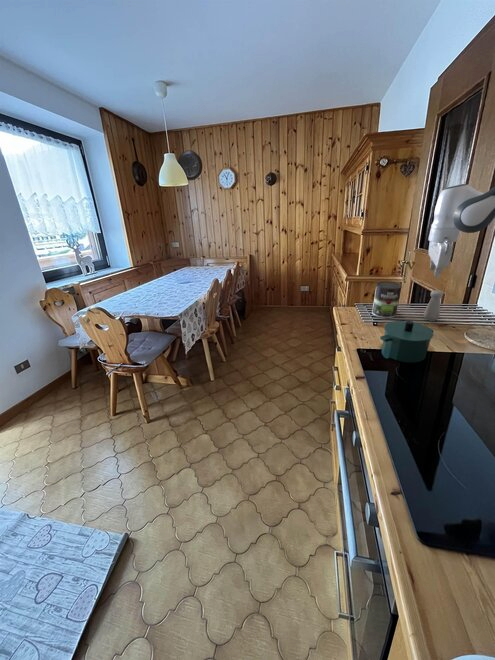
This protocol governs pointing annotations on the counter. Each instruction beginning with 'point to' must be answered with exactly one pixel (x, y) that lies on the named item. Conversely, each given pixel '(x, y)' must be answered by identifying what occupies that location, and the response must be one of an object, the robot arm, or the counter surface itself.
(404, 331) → the lid
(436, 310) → the salt shaker
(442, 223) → the robot arm
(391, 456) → the counter surface
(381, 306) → the coffee can
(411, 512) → the counter surface
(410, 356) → the pot
